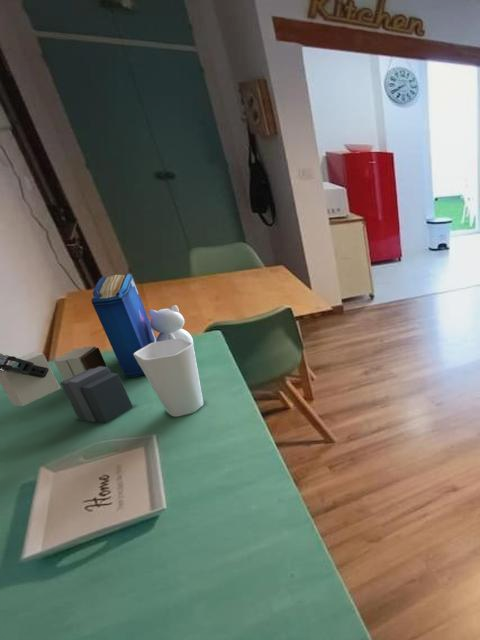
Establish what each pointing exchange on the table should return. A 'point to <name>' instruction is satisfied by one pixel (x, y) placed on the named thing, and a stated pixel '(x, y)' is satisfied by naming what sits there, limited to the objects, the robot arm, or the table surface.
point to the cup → (172, 374)
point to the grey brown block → (79, 361)
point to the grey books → (97, 395)
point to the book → (123, 319)
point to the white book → (29, 382)
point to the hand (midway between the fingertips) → (38, 372)
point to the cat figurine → (169, 324)
